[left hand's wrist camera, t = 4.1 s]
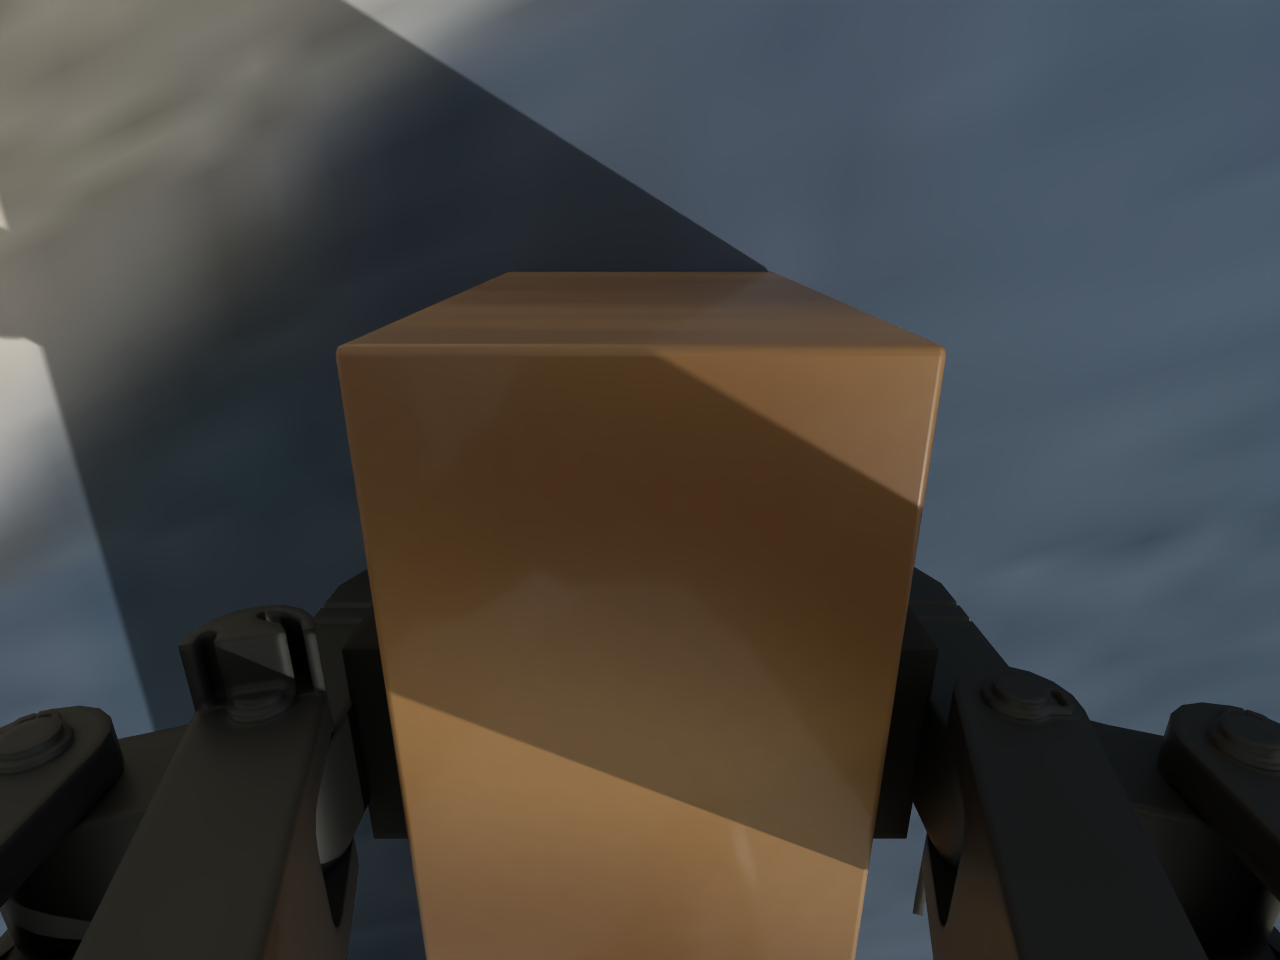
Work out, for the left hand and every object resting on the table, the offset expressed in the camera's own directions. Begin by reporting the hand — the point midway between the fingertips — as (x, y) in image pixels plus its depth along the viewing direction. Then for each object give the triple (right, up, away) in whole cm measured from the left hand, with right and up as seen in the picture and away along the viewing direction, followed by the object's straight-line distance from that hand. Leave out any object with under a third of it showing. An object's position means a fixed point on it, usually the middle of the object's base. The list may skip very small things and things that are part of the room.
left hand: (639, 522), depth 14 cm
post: (0, -22, +9) cm, 24 cm away
